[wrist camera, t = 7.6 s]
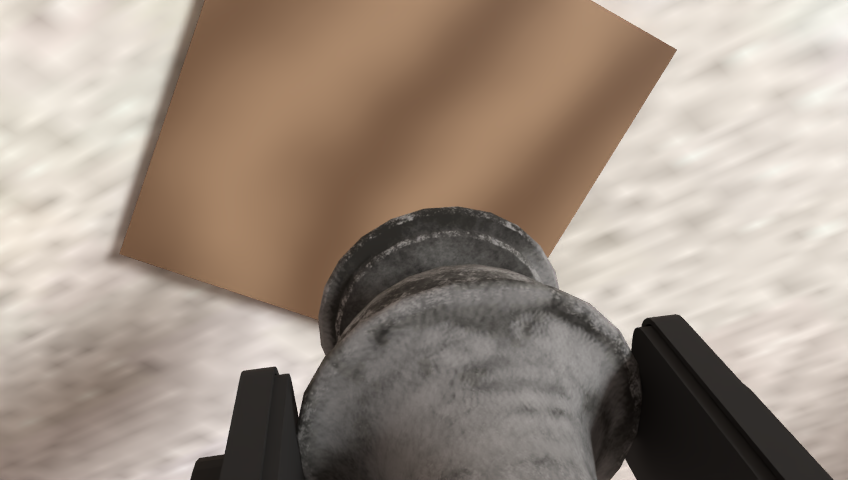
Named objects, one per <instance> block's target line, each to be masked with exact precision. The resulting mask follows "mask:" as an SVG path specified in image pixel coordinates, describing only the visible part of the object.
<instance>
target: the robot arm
mask: <svg viewBox="0 0 848 480" xmlns="http://www.w3.org/2000/svg"><path fill="white" fill-rule="evenodd" d="M631 352H632V354H633V356H634V358H635V359H636V361H637V363H638V366H639V372H640V379H641V386H642V407H641V413H640V419H639V425H638V431H637V435H636V437H635V439H634V441H633V443H632V445H631V447H630V449H629V451H628V453H627V455H626V457H625V459H626V461H627V463H628V465H629V467H630V469H631V470H632V472H633V474H634V476H635V477H636V479H637V480H833V479H832V478H831V477H830V475H829V474H828V473H827V472H826V471H825V470H824V469H823V468H822V467H821V466H820V465H819V463H818V462H817V461H816V460H815V459H814V458H813V457H812V456H811V455H810V454H809V453H808V452H807V450H806V449H805V448H804V447H803V446H802V445H801V444H800V443H799V442H798V441H797V440H796V438H795V437H794V436H793V435H792V434H791V433H790V432H789V431H788V430H787V429H786V428H785V426H784V425H783V424H782V423H781V422H780V421H779V420H778V419H777V418H776V417H775V416H774V415H773V413H772V412H771V411H770V410H769V409H768V408H767V407H766V406H765V405H764V404H763V403H762V401H761V400H760V399H759V398H758V397H757V396H756V395H755V394H754V393H753V392H752V391H751V390H750V389H749V388H748V387H747V386H746V385H744V384H743V383H742V382H741V381H740V380H739V379H738V378H737V377H736V375H735V374H734V373H733V372H732V371H731V370H730V369H729V368H728V367H727V366H726V365H725V363H724V362H723V361H722V360H721V359H720V358H719V357H718V356H717V355H716V354H715V353H714V351H713V350H712V349H711V348H710V347H709V346H708V345H707V344H706V343H705V342H704V340H703V339H702V338H701V337H700V336H699V335H698V334H697V333H696V332H695V331H694V330H693V328H692V327H691V326H690V325H689V324H688V323H687V322H686V321H685V320H684V319H683V318H682V317H681V316H680V315H676V314H675V315H667V316H659V317H652V318H646V319H645V320H644V321H643V323H642V327H638V328H636V329H635V330H634V333H633V339H632V349H631ZM298 419H299V417H298V412H297V407H296V402H295V396H294V391H293V386H292V381H291V377H290V374H282V375H279V373H278V370H277V368H276V367H269V368H261V369H253V370H246V371H242V373H241V376H240V381H239V386H238V391H237V395H236V400H235V405H234V410H233V415H232V420H231V425H230V430H229V435H228V440H227V445H226V450H225V454H224V455H217V456H210V457H203V458H199V459H198V460H197V461H196V463H195V466H194V469H193V472H192V476H191V480H305V477H304V473H303V469H302V463H301V458H300V453H299V447H298V442H297V437H296V428H297V423H298Z"/></svg>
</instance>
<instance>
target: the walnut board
mask: <svg viewBox="0 0 848 480" xmlns="http://www.w3.org/2000/svg"><path fill="white" fill-rule="evenodd" d="M676 51H677V50H676V49H675V48H673V47H671V46H669V45H668V44H666V43H664V42H663V41H661V40H659V39H657V38H656V37H654V36H652V35H650V34H649V33H647V32H645V31H643V30H642V29H640V28H638V27H636V26H635V25H633V24H631V23H629V22H628V21H626V20H624V19H623V18H621V17H619V16H617V15H616V14H614V13H612V12H610V11H609V10H607V9H605V8H603V7H602V6H600V5H598V4H596V3H595V2H593V1H591V0H205V1H204V4H203V7H202V10H201V13H200V16H199V19H198V22H197V25H196V28H195V31H194V34H193V37H192V40H191V43H190V46H189V49H188V52H187V55H186V58H185V61H184V64H183V67H182V70H181V73H180V75H179V78H178V81H177V84H176V87H175V90H174V93H173V96H172V99H171V102H170V105H169V108H168V111H167V114H166V117H165V120H164V123H163V126H162V129H161V132H160V135H159V138H158V141H157V144H156V147H155V150H154V153H153V156H152V159H151V162H150V165H149V167H148V170H147V173H146V176H145V179H144V182H143V185H142V188H141V191H140V194H139V197H138V200H137V203H136V206H135V209H134V212H133V215H132V218H131V221H130V224H129V227H128V230H127V233H126V236H125V239H124V242H123V245H122V248H121V251H120V254H121V255H124V256H127V257H130V258H133V259H136V260H139V261H142V262H145V263H148V264H151V265H154V266H157V267H160V268H163V269H166V270H169V271H172V272H175V273H178V274H181V275H184V276H187V277H190V278H193V279H196V280H199V281H202V282H205V283H208V284H211V285H214V286H217V287H220V288H223V289H226V290H229V291H232V292H235V293H238V294H241V295H244V296H247V297H250V298H253V299H256V300H259V301H263V302H266V303H269V304H272V305H275V306H278V307H281V308H284V309H287V310H290V311H293V312H296V313H299V314H302V315H305V316H308V317H311V318H314V319H317V320H318V315H319V310H320V305H321V300H322V296H323V291H324V287H325V285H326V283H327V281H328V279H329V277H330V276H331V274H332V272H333V270H334V268H335V267H336V265H337V263H338V261H339V260H340V259H341V258H342V257H343V256H344V255H345V253H346V252H347V251H348V250H349V249H350V248H351V247H352V246H353V245H354V244H355V243H356V242H357V241H358V240H359V239H360V238H361V237H362V236H364V235H366V234H367V233H369V232H370V231H372V230H374V229H375V228H377V227H379V226H380V225H382V224H384V223H385V222H387V221H389V220H390V219H393V218H396V217H399V216H402V215H405V214H409V213H412V212H415V211H418V210H421V209H426V208H441V207H457V206H459V207H464V208H470V209H475V210H480V211H486V212H491V213H493V214H495V215H497V216H499V217H501V218H503V219H505V220H507V221H509V222H512V223H514V224H516V225H518V226H519V227H520V228H521V229H523V230H524V231H525V232H526V233H527V234H528V235H529V236H530V237H531V238H532V239H533V240H535V241H536V242H537V243H538V244H539V245H540V246H541V248H542V249H543V251H544V253H545V255H546V256H547V258H548V257H549V255H550V254H551V252H552V250H553V249H554V247H555V246H556V244H557V242H558V241H559V239H560V238H561V236H562V234H563V233H564V231H565V229H566V228H567V226H568V225H569V223H570V221H571V220H572V218H573V217H574V215H575V213H576V212H577V210H578V209H579V207H580V205H581V204H582V202H583V200H584V199H585V197H586V196H587V194H588V192H589V191H590V189H591V188H592V186H593V184H594V183H595V181H596V180H597V178H598V176H599V175H600V173H601V171H602V170H603V168H604V167H605V165H606V163H607V162H608V160H609V159H610V157H611V155H612V154H613V152H614V151H615V149H616V147H617V146H618V144H619V142H620V141H621V139H622V138H623V136H624V134H625V133H626V131H627V130H628V128H629V126H630V125H631V123H632V122H633V120H634V118H635V117H636V115H637V113H638V112H639V110H640V109H641V107H642V105H643V104H644V102H645V101H646V99H647V97H648V96H649V94H650V93H651V91H652V89H653V88H654V86H655V85H656V83H657V81H658V80H659V78H660V76H661V75H662V73H663V72H664V70H665V68H666V67H667V65H668V64H669V62H670V60H671V59H672V57H673V56H674V54H675V52H676Z"/></svg>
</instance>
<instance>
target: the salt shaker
mask: <svg viewBox="0 0 848 480" xmlns="http://www.w3.org/2000/svg"><path fill="white" fill-rule="evenodd" d="M318 320H319V329H320V339H321V346H322V348H323V351H324V353H325V355H326V356H325V357H324V359H323V361H322V362H321V364H320V366H319V368H318V369H317V371H316V373H315V375H314V376H313V378H312V380H311V382H310V383H309V385H308V387H307V389H306V390H305V392H304V395H303V400H302V405H301V409H300V414H299V419H298V423H297V428H296V437H297V442H298V447H299V453H300V458H301V463H302V469H303V473H304V477H305V480H610V479H611V478H612V477H613V476H614V475H615V473H616V472H617V471H618V470H619V469H620V467H621V465H622V463H623V461H624V459H625V457H626V455H627V453H628V451H629V449H630V447H631V445H632V443H633V441H634V439H635V437H636V435H637V431H638V425H639V419H640V413H641V407H642V386H641V379H640V372H639V366H638V363H637V361H636V359H635V358H634V356H633V354H632V352H631V350H630V348H629V347H628V345H627V343H626V341H625V339H624V337H623V336H622V334H621V332H620V331H619V329H617V328H616V327H615V326H614V325H613V324H612V323H611V322H610V321H609V320H607V319H606V318H605V317H604V316H603V315H602V314H601V313H600V312H599V311H597V310H596V309H595V308H594V307H593V306H592V305H591V304H590V303H587V302H585V301H583V300H581V299H579V298H576V297H574V296H572V295H570V294H568V293H566V292H563V291H561V290H559V286H558V282H557V277H556V272H555V270H554V269H553V267H552V265H551V263H550V262H549V260H548V258H547V256H546V255H545V253H544V251H543V249H542V248H541V246H540V245H539V244H538V243H537V242H536V241H535V240H533V239H532V238H531V237H530V236H529V235H528V234H527V233H526V232H525V231H524V230H523V229H521V228H520V227H519V226H518V225H516V224H514V223H512V222H509V221H507V220H505V219H503V218H501V217H499V216H497V215H495V214H493V213H491V212H486V211H480V210H475V209H470V208H464V207H459V206H457V207H441V208H426V209H421V210H418V211H415V212H412V213H409V214H405V215H402V216H399V217H396V218H393V219H390V220H389V221H387V222H385V223H384V224H382V225H380V226H379V227H377V228H375V229H374V230H372V231H370V232H369V233H367V234H366V235H364V236H362V237H361V238H360V239H359V240H358V241H357V242H356V243H355V244H354V245H353V246H352V247H351V248H350V249H349V250H348V251H347V252H346V253H345V255H344V256H343V257H342V258H341V259H340V260H339V261H338V263H337V265H336V267H335V268H334V270H333V272H332V274H331V276H330V277H329V279H328V281H327V283H326V285H325V287H324V291H323V296H322V300H321V305H320V310H319V315H318Z"/></svg>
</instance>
